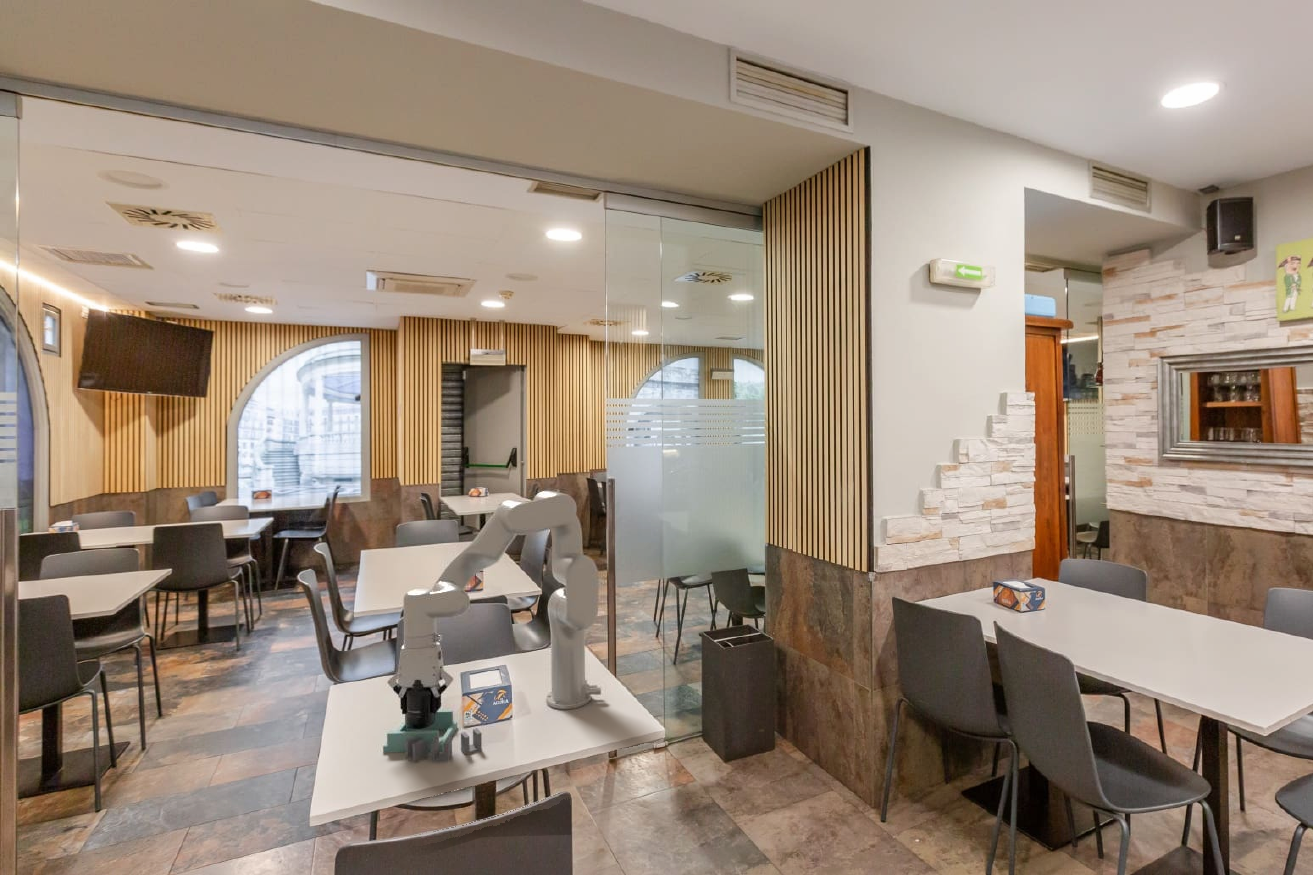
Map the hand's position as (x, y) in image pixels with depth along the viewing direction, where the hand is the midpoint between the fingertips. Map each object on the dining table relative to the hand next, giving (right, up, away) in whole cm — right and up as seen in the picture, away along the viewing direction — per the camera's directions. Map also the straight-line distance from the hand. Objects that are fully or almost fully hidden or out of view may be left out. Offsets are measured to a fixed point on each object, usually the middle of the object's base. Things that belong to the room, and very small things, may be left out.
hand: (420, 710), depth 154 cm
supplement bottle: (0, -3, 0) cm, 3 cm away
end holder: (0, -7, 0) cm, 7 cm away
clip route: (+8, -7, -7) cm, 13 cm away
